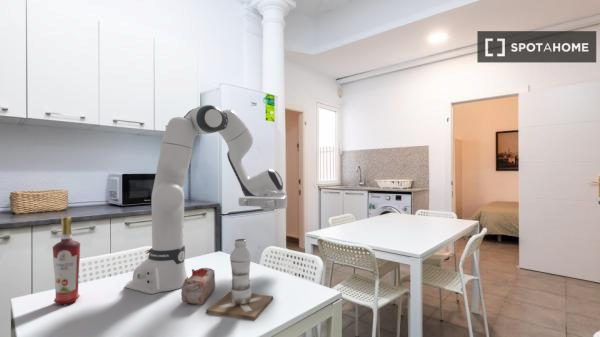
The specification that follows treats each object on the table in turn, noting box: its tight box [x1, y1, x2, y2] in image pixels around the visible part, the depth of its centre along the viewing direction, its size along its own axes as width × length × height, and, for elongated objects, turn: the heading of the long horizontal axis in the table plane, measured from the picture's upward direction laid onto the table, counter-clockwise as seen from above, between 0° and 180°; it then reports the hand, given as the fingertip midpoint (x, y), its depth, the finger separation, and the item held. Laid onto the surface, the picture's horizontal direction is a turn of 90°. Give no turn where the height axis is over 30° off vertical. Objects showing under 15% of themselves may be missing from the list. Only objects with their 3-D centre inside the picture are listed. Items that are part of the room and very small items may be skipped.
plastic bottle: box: [229, 238, 253, 305], centre depth 101 cm, size 6×7×20 cm
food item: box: [180, 267, 216, 306], centre depth 107 cm, size 14×8×10 cm, turn 178°
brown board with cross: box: [205, 290, 274, 321], centre depth 101 cm, size 16×15×1 cm
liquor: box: [52, 216, 81, 306], centre depth 104 cm, size 7×7×28 cm
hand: (255, 203), depth 124 cm, fingers open, 8 cm apart
